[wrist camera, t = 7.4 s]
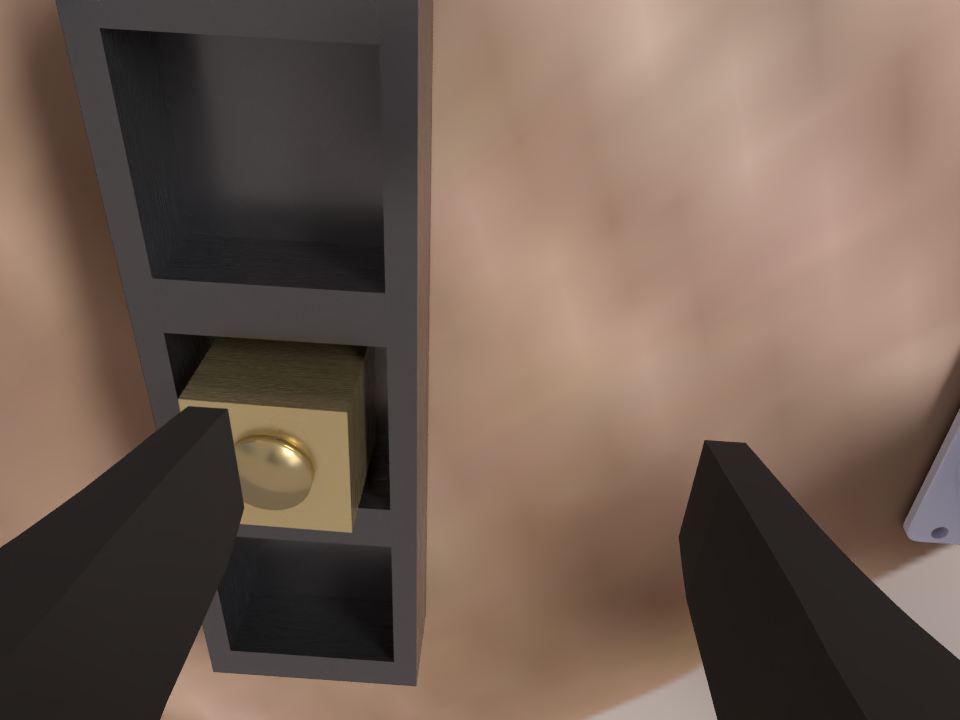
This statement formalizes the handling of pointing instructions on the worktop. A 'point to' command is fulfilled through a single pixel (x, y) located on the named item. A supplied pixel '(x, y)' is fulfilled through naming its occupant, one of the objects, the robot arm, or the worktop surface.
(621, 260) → the worktop surface
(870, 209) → the worktop surface
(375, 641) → the cabinet frame
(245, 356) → the wooden knob block
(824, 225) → the worktop surface
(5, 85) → the worktop surface
